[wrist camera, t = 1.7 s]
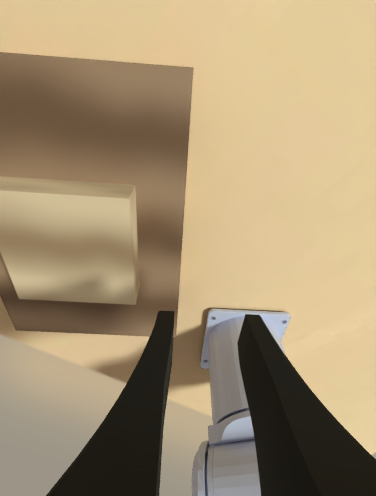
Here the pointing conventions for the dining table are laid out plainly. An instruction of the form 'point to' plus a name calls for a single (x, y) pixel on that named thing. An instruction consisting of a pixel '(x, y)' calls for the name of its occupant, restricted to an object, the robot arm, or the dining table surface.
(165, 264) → the walnut board
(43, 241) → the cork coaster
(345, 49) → the dining table surface
